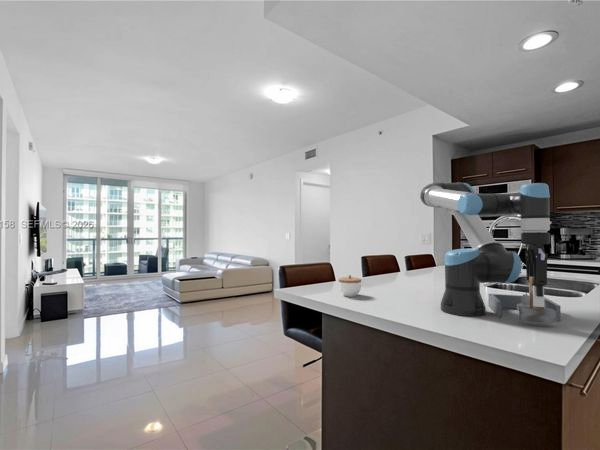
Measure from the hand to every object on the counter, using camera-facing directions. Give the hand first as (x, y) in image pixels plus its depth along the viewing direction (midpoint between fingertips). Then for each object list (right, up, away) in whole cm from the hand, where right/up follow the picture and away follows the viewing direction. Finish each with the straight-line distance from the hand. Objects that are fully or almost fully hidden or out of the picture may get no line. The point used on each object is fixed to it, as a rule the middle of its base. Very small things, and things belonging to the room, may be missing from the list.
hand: (536, 305), depth 101 cm
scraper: (0, -5, 0) cm, 5 cm away
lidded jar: (-52, -8, +49) cm, 72 cm away
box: (+6, -7, +15) cm, 17 cm away
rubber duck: (+6, -7, +13) cm, 16 cm away
